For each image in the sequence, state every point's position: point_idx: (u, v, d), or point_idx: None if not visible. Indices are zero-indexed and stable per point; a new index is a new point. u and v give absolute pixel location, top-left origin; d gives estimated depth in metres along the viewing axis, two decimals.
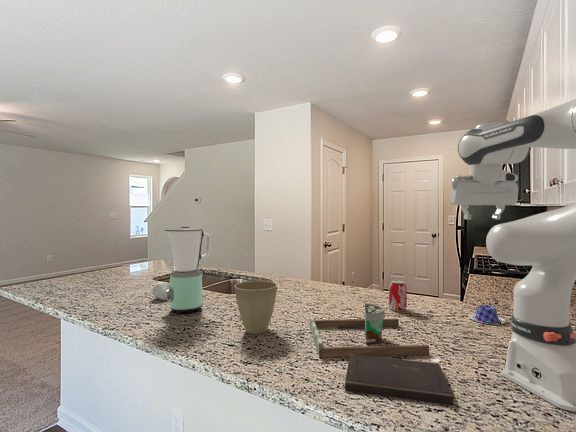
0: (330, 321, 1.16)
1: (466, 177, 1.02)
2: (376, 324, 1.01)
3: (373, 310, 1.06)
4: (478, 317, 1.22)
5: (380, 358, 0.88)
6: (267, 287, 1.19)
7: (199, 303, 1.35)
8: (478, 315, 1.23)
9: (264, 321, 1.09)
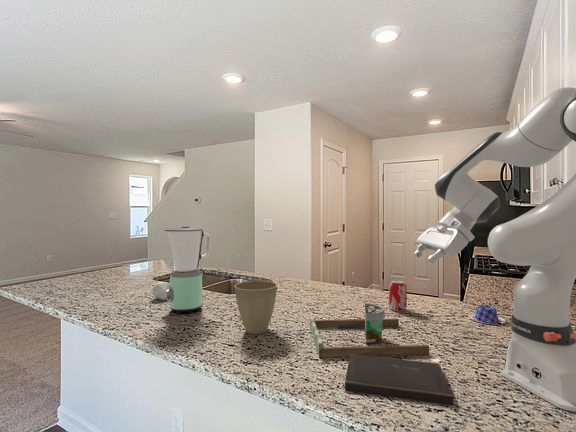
0: (330, 321, 1.16)
1: None
2: (376, 324, 1.01)
3: (373, 310, 1.06)
4: (478, 317, 1.22)
5: (380, 358, 0.88)
6: (267, 287, 1.19)
7: (199, 303, 1.35)
8: (478, 315, 1.23)
9: (264, 321, 1.09)
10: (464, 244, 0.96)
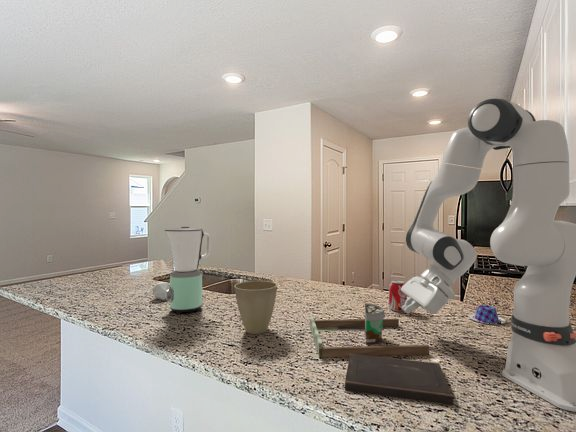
0: (330, 321, 1.16)
1: None
2: (376, 324, 1.01)
3: (373, 310, 1.06)
4: (478, 317, 1.22)
5: (380, 358, 0.88)
6: (267, 287, 1.19)
7: (199, 303, 1.35)
8: (478, 315, 1.23)
9: (264, 321, 1.09)
10: (443, 302, 0.97)
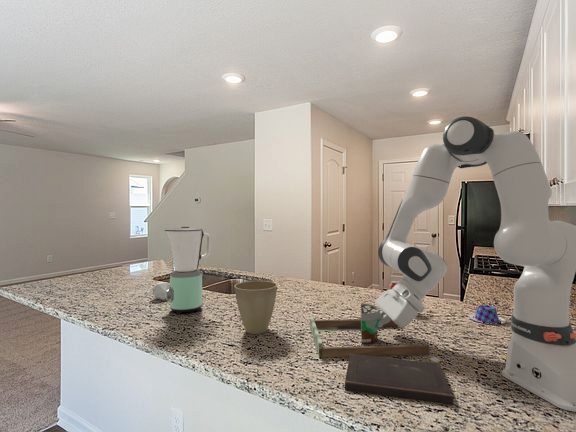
0: (330, 321, 1.16)
1: None
2: (372, 324, 1.01)
3: (368, 310, 1.06)
4: (478, 317, 1.23)
5: (380, 358, 0.88)
6: (267, 287, 1.19)
7: (199, 303, 1.35)
8: (478, 315, 1.23)
9: (264, 321, 1.09)
10: (413, 316, 0.96)
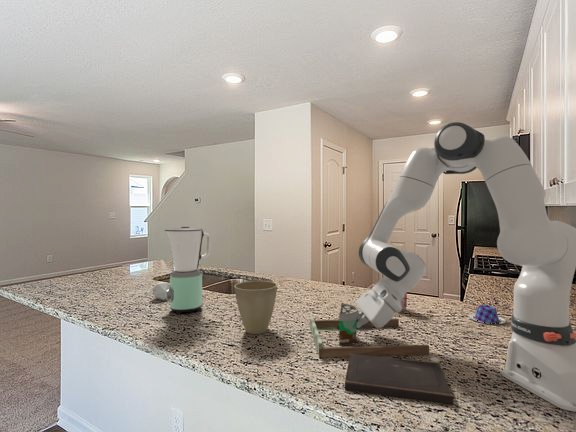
0: (330, 321, 1.16)
1: None
2: (349, 324, 1.01)
3: (347, 310, 1.06)
4: (478, 317, 1.23)
5: (380, 358, 0.88)
6: (267, 287, 1.19)
7: (199, 303, 1.35)
8: (478, 315, 1.23)
9: (264, 321, 1.09)
10: (390, 317, 0.96)
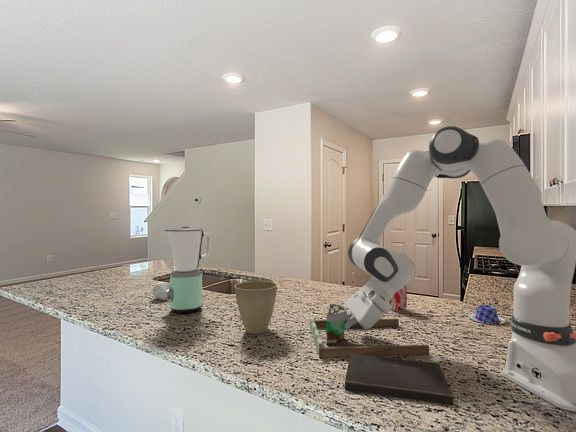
0: None
1: None
2: (337, 325, 1.00)
3: (336, 311, 1.05)
4: (479, 317, 1.22)
5: (380, 358, 0.88)
6: (267, 287, 1.19)
7: (199, 303, 1.35)
8: (478, 315, 1.23)
9: (264, 321, 1.09)
10: (378, 317, 0.95)
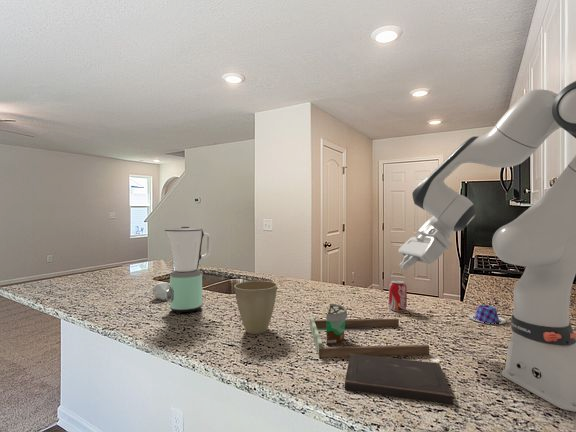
0: None
1: None
2: (337, 325, 1.00)
3: (336, 311, 1.05)
4: (479, 317, 1.22)
5: (380, 358, 0.88)
6: (267, 287, 1.19)
7: (199, 303, 1.35)
8: (479, 315, 1.22)
9: (264, 321, 1.09)
10: (441, 251, 0.96)
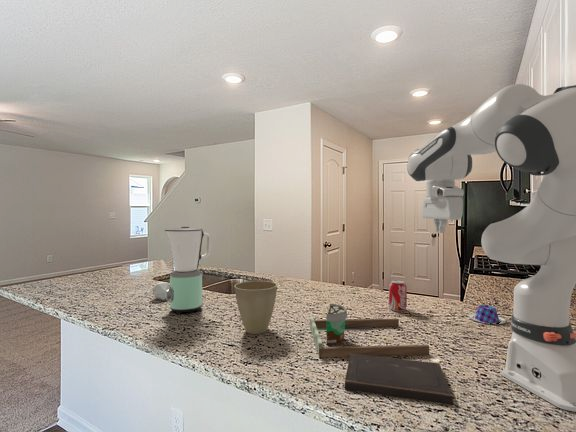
0: None
1: None
2: (337, 325, 1.00)
3: (336, 311, 1.05)
4: (480, 317, 1.22)
5: (380, 357, 0.88)
6: (267, 287, 1.19)
7: (199, 303, 1.35)
8: (480, 315, 1.22)
9: (264, 321, 1.09)
10: (461, 203, 1.01)
